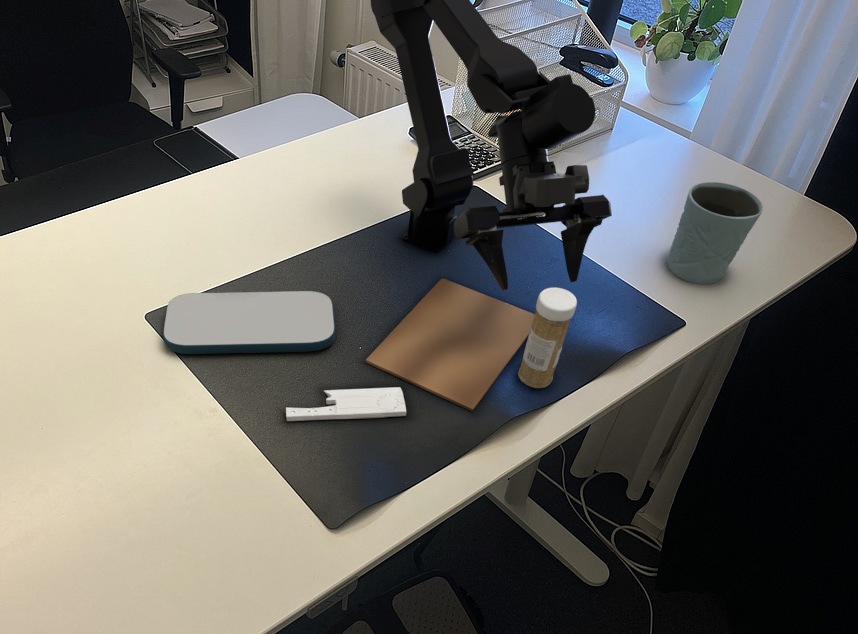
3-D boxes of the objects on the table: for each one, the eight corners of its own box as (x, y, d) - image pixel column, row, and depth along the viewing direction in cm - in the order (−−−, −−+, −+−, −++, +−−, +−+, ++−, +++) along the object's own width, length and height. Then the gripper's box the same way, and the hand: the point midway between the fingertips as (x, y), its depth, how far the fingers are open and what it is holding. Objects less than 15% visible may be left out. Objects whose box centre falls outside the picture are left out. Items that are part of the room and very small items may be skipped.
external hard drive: (161, 357, 102) (159, 346, 100) (169, 303, 110) (168, 292, 108) (336, 354, 103) (337, 343, 101) (332, 300, 111) (332, 289, 109)
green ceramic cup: (650, 267, 118) (677, 199, 109) (679, 240, 123) (707, 173, 114) (713, 295, 113) (746, 226, 104) (740, 266, 118) (774, 198, 109)
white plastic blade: (285, 392, 97) (285, 386, 97) (400, 388, 98) (401, 382, 98) (286, 421, 94) (286, 415, 93) (406, 417, 95) (406, 411, 94)
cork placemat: (365, 362, 102) (365, 359, 101) (441, 280, 114) (442, 277, 114) (472, 411, 96) (473, 409, 95) (540, 319, 108) (541, 316, 108)
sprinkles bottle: (559, 381, 100) (586, 301, 90) (533, 394, 98) (558, 314, 88) (534, 361, 102) (558, 281, 93) (509, 373, 101) (531, 293, 91)
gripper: (475, 147, 85) (492, 284, 86) (628, 134, 88) (643, 267, 89) (445, 175, 96) (460, 297, 97) (582, 162, 99) (596, 281, 100)
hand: (539, 285), depth 95 cm, fingers open, 9 cm apart
